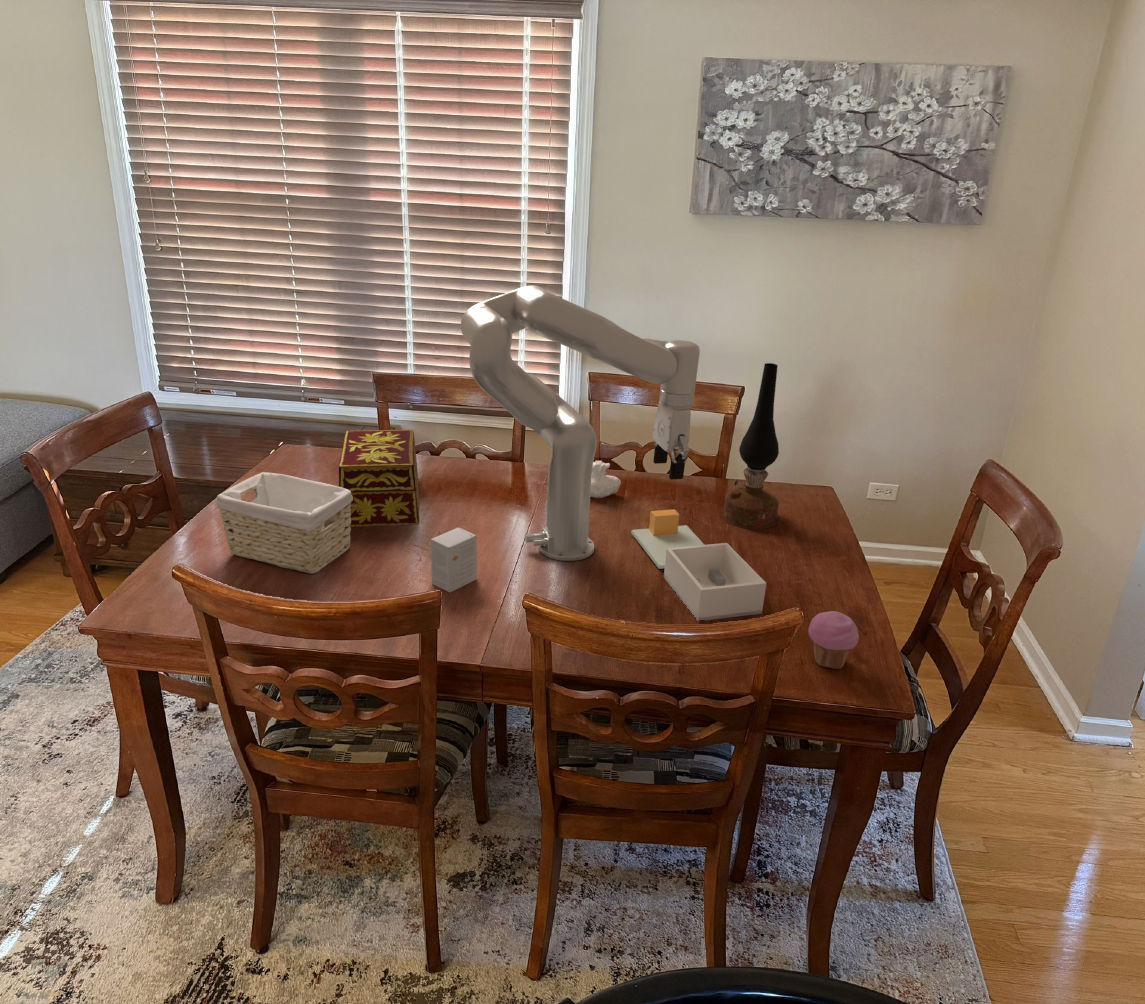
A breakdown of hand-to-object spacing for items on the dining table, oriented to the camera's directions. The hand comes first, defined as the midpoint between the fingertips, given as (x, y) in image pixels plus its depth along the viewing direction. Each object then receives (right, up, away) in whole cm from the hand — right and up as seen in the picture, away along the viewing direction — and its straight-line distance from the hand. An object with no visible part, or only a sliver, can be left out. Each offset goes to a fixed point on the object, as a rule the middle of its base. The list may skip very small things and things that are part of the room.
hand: (667, 470), depth 191 cm
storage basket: (-83, -18, -7) cm, 85 cm away
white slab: (+1, -18, +1) cm, 18 cm away
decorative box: (-69, -8, +19) cm, 72 cm away
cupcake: (+25, -37, -37) cm, 58 cm away
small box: (-46, -24, -16) cm, 55 cm away
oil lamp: (+23, -11, +20) cm, 33 cm away
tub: (+7, -26, -17) cm, 32 cm away
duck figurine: (-15, -6, +29) cm, 33 cm away
